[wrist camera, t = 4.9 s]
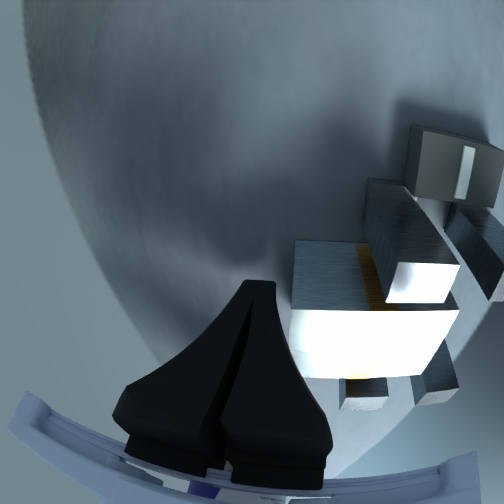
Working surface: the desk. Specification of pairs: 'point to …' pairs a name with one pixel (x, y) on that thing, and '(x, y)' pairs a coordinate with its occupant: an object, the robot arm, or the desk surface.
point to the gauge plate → (452, 167)
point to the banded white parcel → (357, 317)
